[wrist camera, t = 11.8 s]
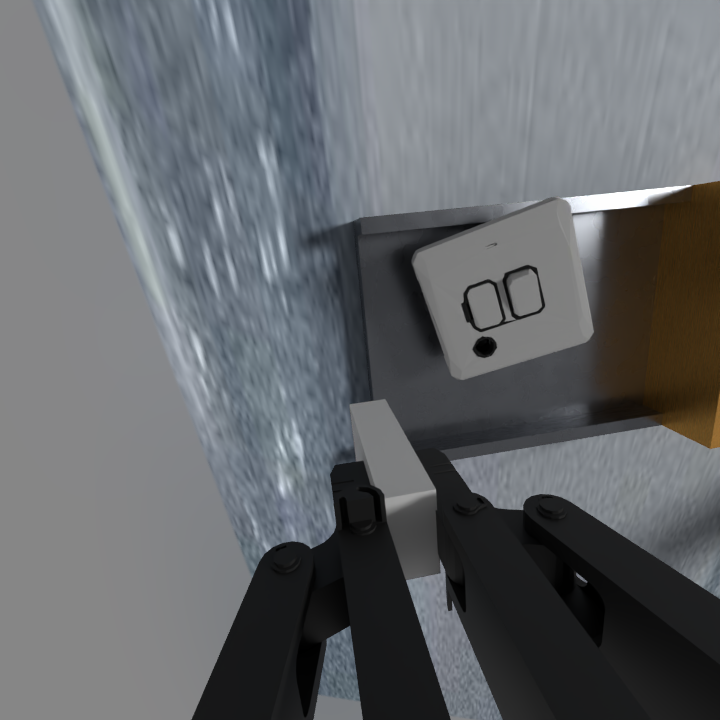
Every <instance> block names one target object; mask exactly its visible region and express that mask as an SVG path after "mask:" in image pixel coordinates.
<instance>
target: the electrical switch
mask: <svg viewBox="0 0 720 720" xmlns="http://www.w3.org/2000/svg"><path fill="white" fill-rule="evenodd" d="M411 262H412V266H413V268H414V271H415V274H416V277H417V280H418V281H419V283H420V286H421V289H422V292H423V295H424V298H425V301H426V304H427V307H428V310H429V312H430V315H431V318H432V321H433V324H434V327H435V330H436V333H437V336H438V338H439V341H440V344H441V347H442V350H443V353H444V358H445V361H446V363H447V366H448V369H449V372H450V374H451V376H453V377H454V378H455V379H457V380H465V379H468V378H471V377H475V376H478V375H481V374H484V373H488V372H491V371H494V370H498V369H501V368H504V367H507V366H511V365H514V364H517V363H520V362H524V361H527V360H530V359H534V358H537V357H540V356H543V355H547V354H550V353H553V352H557V351H560V350H563V349H566V348H570V347H573V346H576V345H579V344H583V343H586V342H587V341H588V340H589V339H590V338H591V336H592V334H593V333H594V330H593V324H592V319H591V313H590V308H589V303H588V297H587V292H586V287H585V281H584V276H583V271H582V265H581V260H580V255H579V249H578V244H577V239H576V233H575V228H574V223H573V217H572V212H571V207H570V204H569V203H568V202H567V201H566V200H564V199H561V198H559V197H558V196H556V197H551V198H548V199H545V200H543V201H540V202H537V203H535V204H532V205H530V206H527V207H525V208H522V209H519V210H517V211H514V212H512V213H509V214H507V215H504V216H501V217H499V218H496V219H494V220H491V221H489V222H486V223H483V224H481V225H478V226H476V227H473V228H471V229H468V230H465V231H463V232H460V233H458V234H455V235H453V236H450V237H447V238H445V239H442V240H440V241H437V242H435V243H432V244H429V245H427V246H424V247H422V248H419V249H418V250H416V251H415V253H414V255H413V257H412V261H411Z"/></svg>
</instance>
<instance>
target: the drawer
mask: <svg viewBox="0 0 720 720" xmlns="http://www.w3.org/2000/svg"><path fill="white" fill-rule="evenodd" d="M561 199H564V200H566V201H567V202H568V203H569V204H570V207H571V212H572V217H573V223H574V228H575V233H576V239H577V244H578V249H579V255H580V260H581V265H582V271H583V276H584V281H585V287H586V292H587V297H588V303H589V308H590V313H591V319H592V324H593V330H594V333H593V334H592V336H591V338H590V339H589V340H588V341H587V342H586V343H583V344H579V345H576V346H573V347H570V348H566V349H563V350H560V351H557V352H553V353H550V354H547V355H543V356H540V357H537V358H534V359H530V360H527V361H524V362H520V363H517V364H514V365H511V366H507V367H504V368H501V369H498V370H494V371H491V372H488V373H484V374H481V375H478V376H475V377H471V378H468V379H465V380H457V379H455V378H454V377H453V376H451V374H450V372H449V369H448V366H447V363H446V361H445V358H444V353H443V350H442V347H441V344H440V341H439V338H438V336H437V333H436V330H435V327H434V324H433V321H432V318H431V315H430V312H429V310H428V307H427V304H426V301H425V298H424V295H423V292H422V289H421V286H420V283H419V281H418V280H417V277H416V274H415V271H414V268H413V266H412V262H411V261H412V257H413V255H414V253H415V251H416V250H418V249H419V248H422V247H424V246H427V245H429V244H432V243H435V242H437V241H440V240H442V239H445V238H447V237H450V236H453V235H455V234H458V233H460V232H463V231H465V230H468V229H471V228H473V227H476V226H478V225H481V224H483V223H486V222H489V221H491V220H494V219H496V218H499V217H501V216H504V215H507V214H509V213H512V212H514V211H517V210H519V209H522V208H525V207H527V206H530V205H532V204H535V203H537V202H540V201H543V200H538V201H528V202H517V203H507V204H497V205H487V206H476V207H466V208H456V209H446V210H435V211H425V212H415V213H405V214H394V215H384V216H374V217H364V218H359V219H357V220H355V221H353V224H354V234H355V244H356V254H357V265H358V275H359V285H360V295H361V305H362V315H363V325H364V335H365V346H366V356H367V366H368V376H369V386H370V396H371V401H376V400H382V399H385V400H386V401H387V403H388V405H389V407H390V408H391V410H392V412H393V414H394V416H395V417H396V419H397V421H398V423H399V424H400V426H401V428H402V430H403V432H404V433H405V435H406V437H407V439H408V441H409V442H410V444H411V446H412V448H413V449H414V451H417V450H423V449H430V448H435V449H437V450H439V451H441V452H442V453H444V454H445V455H446V456H447V458H448V459H449V461H451V460H457V459H463V458H469V457H475V456H481V455H487V454H493V453H499V452H505V451H510V450H516V449H522V448H528V447H534V446H540V445H546V444H552V443H558V442H564V441H570V440H576V439H581V438H587V437H593V436H599V435H605V434H611V433H617V432H623V431H629V430H635V429H641V428H647V427H652V426H658V425H663V426H665V427H667V428H669V429H671V430H673V431H675V432H677V433H679V434H681V435H683V436H685V437H687V438H689V439H691V440H693V441H695V442H697V443H700V444H702V445H704V446H706V447H708V448H710V449H712V448H717V447H720V181H717V182H711V183H705V184H698V185H692V186H681V187H671V188H661V189H651V190H640V191H630V192H620V193H610V194H599V195H589V196H579V197H569V198H561Z"/></svg>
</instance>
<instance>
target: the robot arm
mask: <svg viewBox="0 0 720 720" xmlns="http://www.w3.org/2000/svg"><path fill="white" fill-rule="evenodd" d="M350 413H351V421H352V430H353V439H354V447H355V456H356V462H351V463H345V464H339V465H335V466H334V468H333V470H332V472H331V474H330V477H331V484H332V492H333V500H334V510H335V517H336V528H335V531H334V533H333V534H332V535H331V537H330V538H329V539H328V540H326V541H325V542H324V543H322V544H320V545H318V546H316V547H314V548H312V549H310V547H309V546H307V545H305V544H303V543H300V542H286V543H282V544H280V545H277V546H275V547H273V548H272V549H270V550H269V551H268V552H267V553H265V554H264V556H263V557H262V559H261V560H260V562H259V564H258V566H257V569H256V571H255V573H254V576H253V578H252V580H251V583H250V585H249V587H248V590H247V592H246V594H245V597H244V599H243V601H242V604H241V606H240V609H239V611H238V613H237V615H236V618H235V620H234V622H233V625H232V627H231V629H230V632H229V634H228V636H227V639H226V641H225V643H224V646H223V648H222V650H221V652H220V655H219V657H218V660H217V662H216V664H215V666H214V669H213V671H212V673H211V676H210V678H209V680H208V683H207V685H206V687H205V690H204V692H203V694H202V697H201V699H200V702H199V704H198V706H197V708H196V711H195V713H194V715H193V718H192V720H313V719H314V713H315V707H316V702H317V696H318V690H319V685H320V679H321V673H322V668H323V662H324V656H325V651H326V645H327V641H326V639H327V638H329V637H331V636H333V635H334V634H336V633H338V632H340V631H341V630H343V629H345V628H347V627H348V626H350V627H351V635H352V642H353V650H354V657H355V664H356V672H357V679H358V686H359V694H360V701H361V709H362V716H363V720H450V716H449V713H448V710H447V707H446V704H445V701H444V697H443V694H442V691H441V688H440V685H439V682H438V679H437V676H436V673H435V669H434V666H433V663H432V660H431V657H430V654H429V651H428V648H427V645H426V641H425V638H424V635H423V632H422V629H421V626H420V623H419V620H418V617H417V614H416V610H415V607H414V604H413V601H412V598H411V595H410V592H409V589H408V586H407V582H406V580H409V579H414V578H419V577H424V576H429V575H434V574H439V573H440V560H441V562H442V564H443V566H444V568H445V573H446V594H447V606H448V611H451V610H452V601H453V603H454V606H455V608H456V610H457V613H458V615H459V617H460V620H461V622H462V624H463V627H464V629H465V632H466V634H467V636H468V639H469V641H470V643H471V646H472V648H473V650H474V653H475V655H476V657H477V660H478V662H479V664H480V667H481V669H482V671H483V674H484V676H485V678H486V681H487V683H488V685H489V688H490V690H491V693H492V695H493V697H494V700H495V702H496V704H497V707H498V709H499V711H500V714H501V716H502V718H503V720H720V599H719V598H717V597H716V596H714V595H713V594H711V593H710V592H708V591H707V590H705V589H703V588H702V587H700V586H699V585H697V584H696V583H694V582H693V581H691V580H690V579H688V578H687V577H685V576H683V575H682V574H680V573H679V572H677V571H676V570H674V569H673V568H671V567H670V566H668V565H667V564H665V563H663V562H662V561H660V560H659V559H657V558H656V557H654V556H653V555H651V554H650V553H648V552H647V551H645V550H643V549H642V548H640V547H639V546H637V545H636V544H634V543H633V542H631V541H630V540H628V539H627V538H625V537H623V536H622V535H620V534H619V533H617V532H616V531H614V530H613V529H611V528H610V527H608V526H607V525H605V524H603V523H602V522H600V521H599V520H597V519H596V518H594V517H593V516H591V515H590V514H588V513H587V512H585V511H583V510H582V509H580V508H579V507H577V506H576V505H574V504H573V503H571V502H569V501H567V500H565V499H563V498H561V497H558V496H554V495H546V494H539V495H535V496H531V497H530V498H528V499H526V501H525V503H524V505H523V510H507V509H498V508H494V507H493V505H492V504H491V503H490V502H489V501H488V500H487V499H486V498H485V497H483V496H481V495H479V494H476V493H472V492H471V490H470V489H469V488H468V486H467V485H466V483H465V482H464V481H463V479H462V478H461V476H460V475H459V473H458V472H457V471H456V470H455V468H454V466H453V465H452V464H451V462H450V461H449V459H448V458H447V456H446V455H445V454H444V453H442V452H441V451H439V450H437V449H435V448H430V449H423V450H417V451H414V449H413V448H412V446H411V444H410V442H409V441H408V439H407V437H406V435H405V433H404V432H403V430H402V428H401V426H400V424H399V423H398V421H397V419H396V417H395V416H394V414H393V412H392V410H391V408H390V407H389V405H388V403H387V401H386V400H385V399H382V400H376V401H369V402H362V403H356V404H350ZM576 572H577V573H578V574H579V575H580V576H582V577H583V578H584V579H585V580H586V581H588V582H587V583H585V582H584V581H582V580H581V579H580V578H578V577H577V576H576Z"/></svg>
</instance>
